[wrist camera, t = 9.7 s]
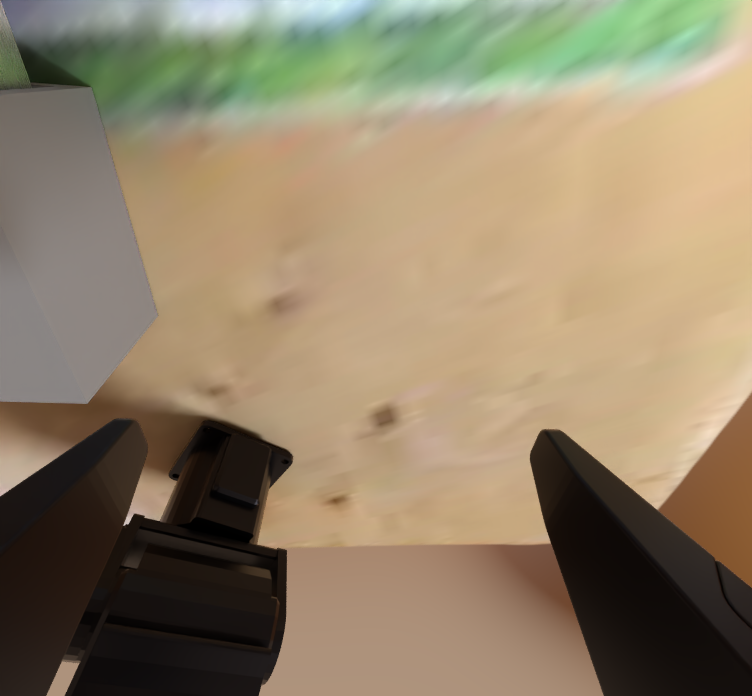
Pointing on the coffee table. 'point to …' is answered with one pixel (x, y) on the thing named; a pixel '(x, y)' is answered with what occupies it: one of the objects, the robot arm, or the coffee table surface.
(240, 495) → the robot arm
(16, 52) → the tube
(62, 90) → the sleeve
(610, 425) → the coffee table surface
